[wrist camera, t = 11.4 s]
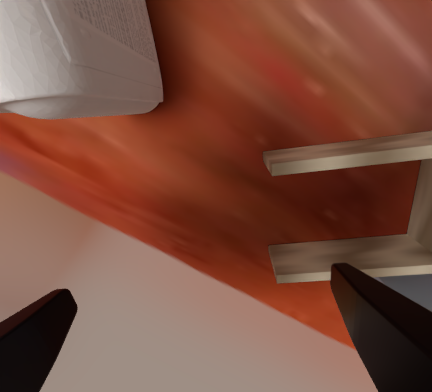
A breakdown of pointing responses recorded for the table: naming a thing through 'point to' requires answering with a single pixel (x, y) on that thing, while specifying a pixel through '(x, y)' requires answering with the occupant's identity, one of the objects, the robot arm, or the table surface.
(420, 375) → the robot arm
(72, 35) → the white rounded slab
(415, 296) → the slate block
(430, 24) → the table surface
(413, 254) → the u-shaped bracket
